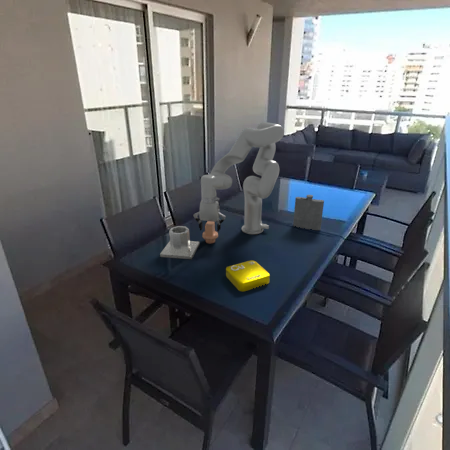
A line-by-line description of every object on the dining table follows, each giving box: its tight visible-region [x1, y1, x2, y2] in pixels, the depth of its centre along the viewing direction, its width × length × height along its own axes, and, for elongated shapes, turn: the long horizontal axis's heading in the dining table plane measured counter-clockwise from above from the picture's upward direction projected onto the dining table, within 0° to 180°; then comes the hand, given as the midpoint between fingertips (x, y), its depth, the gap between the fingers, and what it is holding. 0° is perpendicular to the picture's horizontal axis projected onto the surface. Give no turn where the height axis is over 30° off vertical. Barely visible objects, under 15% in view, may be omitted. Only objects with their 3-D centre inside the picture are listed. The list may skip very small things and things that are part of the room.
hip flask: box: [292, 194, 325, 231], centre depth 183 cm, size 16×4×20 cm, turn 65°
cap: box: [201, 221, 219, 245], centre depth 170 cm, size 8×8×10 cm
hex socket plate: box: [159, 225, 201, 260], centre depth 161 cm, size 16×16×12 cm
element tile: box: [225, 259, 271, 292], centre depth 139 cm, size 15×15×5 cm
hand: (209, 229), depth 170 cm, fingers open, 9 cm apart
